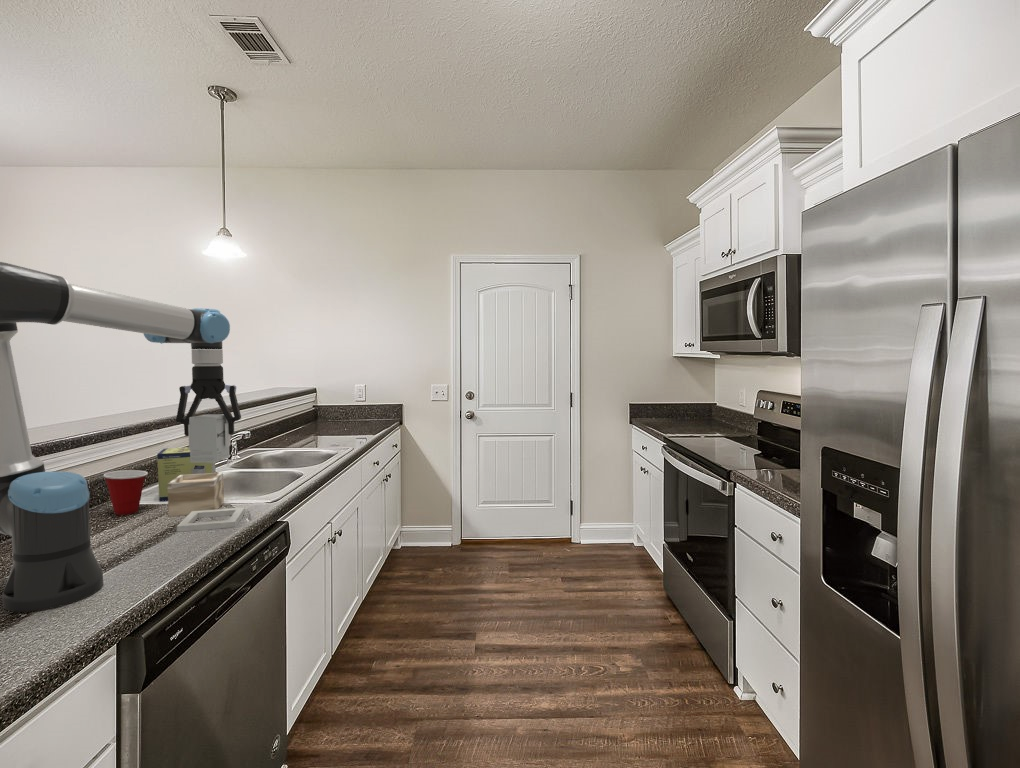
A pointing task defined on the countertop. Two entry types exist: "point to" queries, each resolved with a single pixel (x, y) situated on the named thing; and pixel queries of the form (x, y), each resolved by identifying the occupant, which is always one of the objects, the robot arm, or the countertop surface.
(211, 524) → the white flat square frame
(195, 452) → the supplement box
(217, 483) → the tray
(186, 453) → the protein box
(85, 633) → the countertop surface
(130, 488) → the plastic cup
